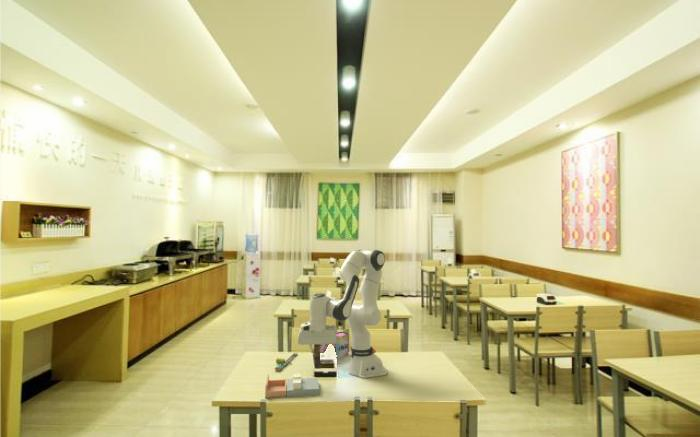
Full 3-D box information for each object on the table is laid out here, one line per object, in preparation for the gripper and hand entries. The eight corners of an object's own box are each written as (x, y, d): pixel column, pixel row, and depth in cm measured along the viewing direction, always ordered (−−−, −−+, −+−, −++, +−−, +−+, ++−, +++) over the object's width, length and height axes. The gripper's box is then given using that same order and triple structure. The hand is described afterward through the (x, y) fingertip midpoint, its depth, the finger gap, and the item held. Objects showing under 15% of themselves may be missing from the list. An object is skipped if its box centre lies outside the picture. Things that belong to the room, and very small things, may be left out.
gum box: (321, 363, 211) (321, 341, 211) (313, 360, 216) (313, 338, 217) (348, 354, 228) (349, 333, 228) (340, 351, 233) (341, 331, 234)
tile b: (300, 385, 175) (301, 379, 175) (301, 388, 171) (301, 382, 171) (292, 385, 174) (293, 379, 174) (292, 389, 170) (293, 383, 170)
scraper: (318, 355, 187) (318, 339, 187) (320, 368, 169) (321, 350, 169) (312, 355, 186) (313, 339, 186) (314, 368, 168) (315, 351, 169)
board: (317, 383, 184) (317, 377, 184) (319, 394, 171) (319, 388, 171) (287, 384, 181) (287, 379, 181) (286, 396, 168) (286, 390, 169)
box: (286, 384, 181) (286, 373, 181) (286, 396, 168) (286, 384, 169) (267, 385, 180) (267, 374, 180) (265, 398, 167) (265, 385, 167)
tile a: (300, 379, 181) (300, 373, 182) (300, 382, 178) (300, 376, 178) (293, 379, 181) (293, 373, 181) (293, 383, 177) (293, 377, 177)
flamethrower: (267, 370, 199) (283, 373, 197) (267, 365, 199) (283, 368, 197) (286, 354, 227) (300, 356, 225) (286, 350, 227) (300, 352, 225)
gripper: (336, 323, 183) (335, 349, 183) (298, 324, 180) (297, 350, 179) (338, 326, 177) (337, 353, 176) (298, 327, 174) (297, 355, 173)
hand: (316, 352), depth 178 cm, fingers closed on scraper, 3 cm apart
